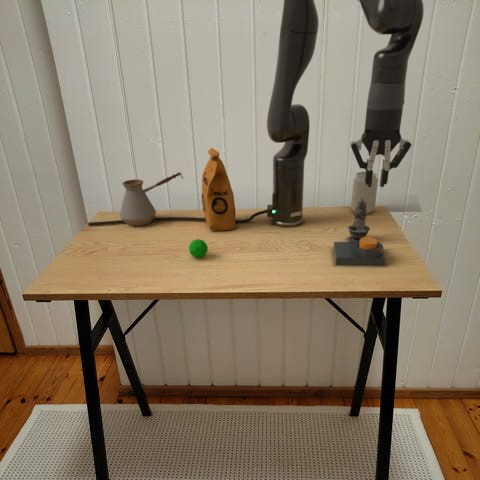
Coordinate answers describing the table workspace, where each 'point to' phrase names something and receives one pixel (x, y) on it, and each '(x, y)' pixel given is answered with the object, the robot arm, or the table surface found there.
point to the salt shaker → (359, 223)
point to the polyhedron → (198, 248)
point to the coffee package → (217, 195)
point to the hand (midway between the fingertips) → (375, 185)
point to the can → (364, 192)
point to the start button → (368, 243)
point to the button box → (358, 254)
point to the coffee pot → (139, 202)
